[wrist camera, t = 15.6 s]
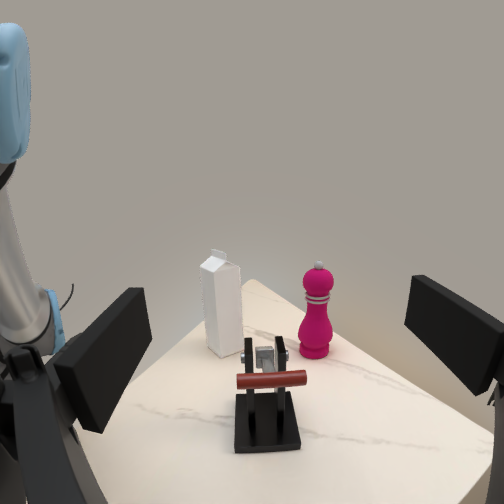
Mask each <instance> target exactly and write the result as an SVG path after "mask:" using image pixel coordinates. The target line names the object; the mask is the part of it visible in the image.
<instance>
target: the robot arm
mask: <svg viewBox="0 0 504 504" xmlns="http://www.w3.org/2000/svg"><path fill="white" fill-rule="evenodd" d="M30 89H31V82H30V57H29V47H28V42H27V37H26V35H25V33H24V31H23V29H22V28H21V27H20V26H18V25H17V24H14V23H3V24H0V504H26V498H27V502H28V504H108V502H107V501H106V499H105V497H104V495H103V493H102V491H101V489H100V487H99V485H98V483H97V481H96V479H95V477H94V474H93V472H92V470H91V468H90V465H89V463H88V461H87V458H86V456H85V453H84V451H83V448H82V446H81V443H80V441H79V438H78V435H77V432H76V430H75V428H74V427H73V425H72V424H73V423H74V421H75V420H76V418H78V420H79V422H80V424H81V426H82V428H83V429H84V430H88V431H92V432H96V433H100V434H102V433H103V431H104V429H105V427H106V425H107V423H108V421H109V419H110V417H111V415H112V413H113V411H114V409H115V407H116V405H117V404H118V402H119V400H120V398H121V396H122V394H123V392H124V390H125V388H126V386H127V385H128V383H129V381H130V379H131V377H132V375H133V373H134V371H135V370H136V368H137V366H138V364H139V362H140V360H141V359H142V357H143V355H144V353H145V351H146V350H147V348H148V346H149V344H150V342H151V341H152V335H151V329H150V324H149V319H148V313H147V308H146V301H145V295H144V288H128V289H127V290H126V291H125V292H124V293H123V294H121V295H120V296H119V298H117V299H116V300H115V301H114V302H113V303H112V304H111V305H110V306H109V307H108V308H107V309H106V310H105V311H104V312H103V313H102V314H101V315H100V316H99V317H98V318H97V319H96V320H95V321H94V322H93V323H92V324H91V325H90V326H89V327H88V328H87V329H86V330H85V331H84V332H83V333H79V334H78V335H76V336H74V337H72V338H71V339H70V340H69V341H68V342H67V343H66V344H65V336H64V332H63V327H62V321H61V315H60V311H61V310H62V309H63V308H64V307H65V305H66V304H67V303H68V301H69V300H70V298H71V296H72V293H73V288H74V284H72V291H71V294H70V297H69V298H68V300H67V301H66V302H65V304H64V305H63V306H62V307H61V308H60V309H59V306H58V301H57V297H56V295H55V292H54V291H53V290H47V289H45V290H44V289H43V288H42V287H41V286H40V285H39V284H38V283H36V282H35V281H33V280H32V278H31V275H30V272H29V270H28V267H27V263H26V260H25V257H24V254H23V251H22V248H21V244H20V241H19V238H18V234H17V230H16V226H15V223H14V218H13V214H12V210H11V205H10V201H9V195H8V190H7V184H8V183H9V181H10V180H11V178H12V176H13V174H14V172H15V168H16V162H17V159H19V158H20V157H22V156H23V155H24V153H25V152H26V150H27V146H28V142H29V133H30V100H31V90H30ZM404 325H405V326H406V327H407V328H408V329H409V330H411V331H412V332H413V333H414V334H415V335H416V336H417V337H418V338H419V339H420V340H421V341H422V342H423V343H424V344H425V345H426V346H427V347H428V348H429V349H430V350H431V351H432V352H433V353H434V354H435V355H436V356H437V357H438V358H439V359H440V360H441V361H442V362H443V363H444V364H445V365H446V366H447V367H448V368H449V369H450V370H451V371H452V372H453V373H454V374H455V375H456V376H457V377H458V378H459V380H461V382H462V383H463V384H464V385H465V386H466V387H467V388H468V389H469V390H470V391H471V392H472V393H473V394H474V395H475V396H478V395H480V394H482V393H484V392H486V391H488V389H489V386H490V384H491V382H492V380H493V378H494V379H496V380H497V381H498V382H497V384H496V387H495V389H494V391H493V393H492V395H491V397H490V399H489V401H488V404H487V405H490V403H491V401H493V400H495V401H494V404H493V406H495V431H494V448H493V459H492V468H491V475H490V482H489V488H488V493H487V498H486V503H485V504H504V324H503V323H502V322H500V321H499V320H497V319H495V318H494V317H493V316H491V315H490V314H488V313H486V312H485V311H483V310H482V309H480V308H478V307H477V306H475V305H474V304H472V303H470V302H469V301H467V300H466V299H464V298H462V297H461V296H459V295H457V294H456V293H454V292H452V291H451V290H449V289H447V288H445V287H444V286H442V285H440V284H439V283H437V282H435V281H433V280H432V279H430V278H428V277H426V276H425V275H415V276H412V280H411V287H410V294H409V300H408V307H407V312H406V319H405V323H404ZM54 353H56V354H55V355H54V356H53V357H52V358H51V359H50V360H49V361H48V362H47V363H46V364H45V365H44V364H43V361H42V358H41V357H42V356H46V355H53V354H54Z"/></svg>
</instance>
